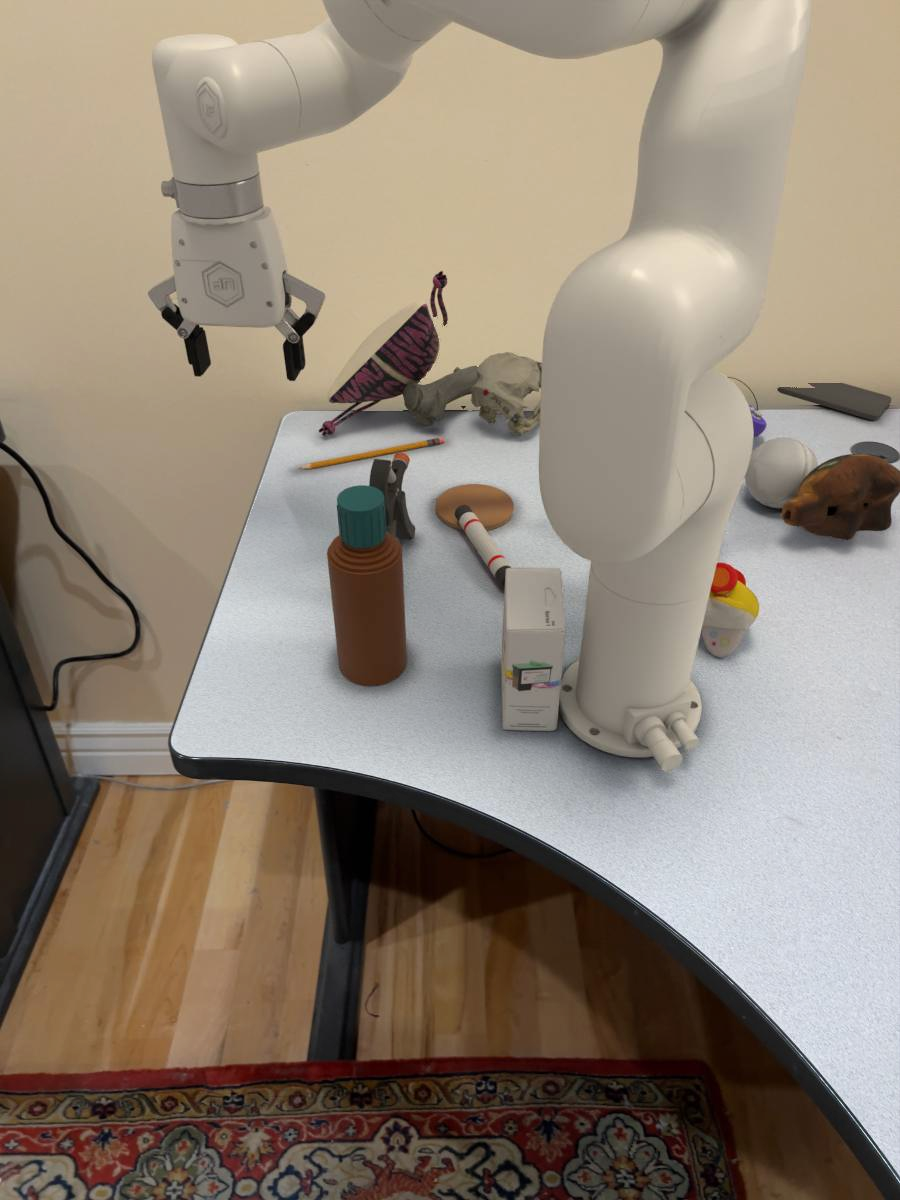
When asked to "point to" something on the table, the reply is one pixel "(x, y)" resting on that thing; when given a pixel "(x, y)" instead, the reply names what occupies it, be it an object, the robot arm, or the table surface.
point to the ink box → (532, 648)
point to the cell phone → (842, 398)
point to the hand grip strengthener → (393, 494)
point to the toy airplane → (728, 611)
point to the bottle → (368, 610)
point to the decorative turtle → (845, 497)
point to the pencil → (374, 453)
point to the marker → (483, 543)
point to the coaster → (476, 505)
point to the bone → (438, 394)
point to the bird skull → (507, 389)
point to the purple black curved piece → (390, 357)
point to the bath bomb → (778, 470)
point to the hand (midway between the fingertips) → (248, 373)
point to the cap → (361, 516)
